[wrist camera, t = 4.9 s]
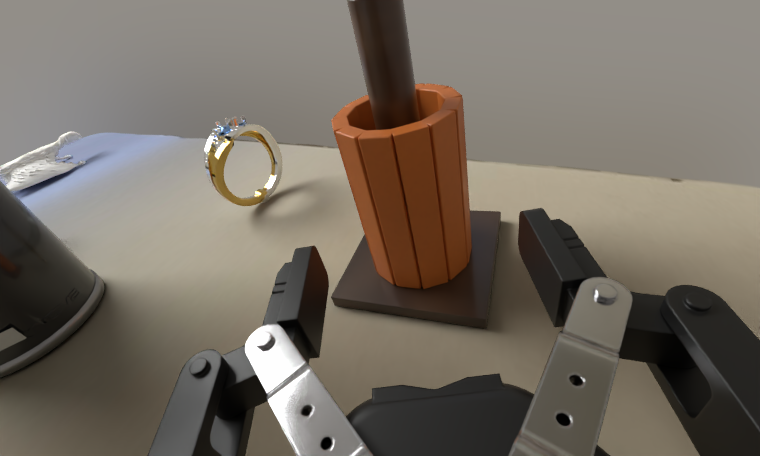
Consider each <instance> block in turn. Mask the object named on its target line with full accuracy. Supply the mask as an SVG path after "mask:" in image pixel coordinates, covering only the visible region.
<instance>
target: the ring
mask: <svg viewBox="0 0 760 456" xmlns="http://www.w3.org/2000/svg"><path fill="white" fill-rule="evenodd" d="M241 120H242V122H241V123H238V120H237V118H236V116H234V117H233V118H230V119H228V118H225V121H226V125H224V126H221V124H220V123H219V121H216V122H215V123H216V125H217V127H218V128H216V129H215V128H214V129H212V134H211V135H210V137H209V139H208V141H207V144H206V147H205V153H204V160H205V167H206V172H207V175H208V178H209V181H210V183H211V185H212V186H213V188H214V189H215V191H216V192H217V193H218V194H219V195H220V196H222V197H223V198H225V199H226V200H228V201H230V202H232V203H234V204H237V205H240V206H252V205H256V204H258V203H261V202H263V203H265V202H267V201H268V200H269V199H270V197H269V196H270V195H271V194H272V193H273V192H274V191H275V190H276V188H277V186H278V184H279V182H280V179H281V175H282V166H283V164H282V155H281V152H280V149H279V146H278V144H277V143H276V141H275V139H274V138H273V137H272V135H271V134H270V133H269V132H268V131H267V130H266V129H264V128H263V127H261V126H259V125H253V124H246V119H245V116H241ZM238 136H250V137H253V138H254V139H257V140H258V141H259V142H260V143H262V144H263V146H264V147H265V148H266V149H267V151H268V153H269V155H270V158H271V163H272V172H271V177H270V179H269V182H268V183H267V185H266V186H265V187H264V188H263V189H259V190H257V191H256V192H255V195H254V196H251V197H247V198H239V197H236V196H235V195H233V194H232V193H231V192H230V191H229V190H228V188H227V186H226V184H225V181H224V166H225V162H226V159H227V156H228V154H229V152H230V150H231V149H232V147H233V145H234V140H235V139H236V138H237V137H238ZM223 140H225V141H224V142H223V143H222V145H221V146H220V147H219V149H218V151H217V152H216V155H215V150H216V146H217V143H218V141H223Z"/></svg>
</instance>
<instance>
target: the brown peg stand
mask: <svg viewBox="0 0 760 456" xmlns="http://www.w3.org/2000/svg"><path fill="white" fill-rule="evenodd" d="M347 2H348V7H349V11H350V16H351V20H352V25H353V29H354V34H355V38H356V43H357V47H358V51H359V55H360V60H361V65H362V69H363V73H364V78H365V82H366V87H367V91H368V96H369V100H370V105H371V109H372V114H373V118H374V123H375V127H376V130H386V129H393V128H397V127H401V126H404V125H408V124H411V123H415V122H418V121H420V117H419V109H418V102H417V95H416V88H415V81H414V74H413V67H412V61H411V53H410V46H409V39H408V32H407V25H406V18H405V10H404V4H403V0H347ZM500 221H501V212H495V211H470V225H471V241H472V249H471V254H470V259H469V263H467V266H466V267H465V268H464V269H463V270H462V271H461V272H460V273H458V274H457V275H456V276H455V277H454V278H453V279H452V280H449V279H448V282H447V283H443V284H440V285H436V286H433V287H429V288H426V289H423V287H422V286H421V288H420V289H416V288H408V287H400V286H397V285H396V284H395V285H393V284H391V283H390V282H389V281H387V280H386V279H384V278H383V277H382V276H380V275H379V274H378V272H376V269H375V266H374V262H373V259H372V256H371V252H370V249H369V246H368V243H367V239H366V236H365V235H364V237H363V238H362V240H361V242H360V244H359V246H358V248H357V250H356V251H355V253H354V255H353V257H352V259H351V261H350V263H349V265H348V266H347V268H346V270H345V272H344V274H343V276H342V278H341V280H340V281H339V283H338V285H337V287H336V289H335V291H334V293H333V294H332V296H331V298H332V301H333V303H334V305H336V306H342V307H349V308H355V309H362V310H368V311H375V312H381V313H388V314H394V315H401V316H407V317H414V318H420V319H427V320H433V321H440V322H446V323H453V324H459V325H466V326H472V327H479V328H487V320H488V312H489V305H490V297H491V290H492V282H493V274H494V267H495V259H496V251H497V244H498V236H499V229H500Z"/></svg>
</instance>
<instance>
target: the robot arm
mask: <svg viewBox="0 0 760 456" xmlns="http://www.w3.org/2000/svg"><path fill="white" fill-rule="evenodd" d="M518 246H519V251H520V255H521V258H522V260H523V262H524V264H525V266H526V268H527V270H528V272H529V275H530V277H531V279H532V281H533V283H534V285H535V287H536V289H537V291H538V293H539V296H540V298H541V300H542V302H543V304H544V306H545V308H546V310H547V312H548V315H549V317H550V319H551V321H552V323H553V325H554V327H563V326H564V327H563V330H562V332H561V331H560V332H559V334H558V336H557V339H556V341H555V344H554V346H553V349H552V351H551V354H550V356H549V359H548V361H547V364H546V367H545V369H544V372H543V374H542V377H541V379H540V382H539V384H538V387H537V389H536V392H535V394H533V393H531V392H529V391H527V390H525V389H522V388H520V387H517V386H514V385H510V384H504V383H502V381H501V378H500V374H491V375H483V376H474V377H467V378H464V379H462V380H459V381H457V382H454V383H451V384H449V385H446V386H444V387H441V388H439V389H427V388H420V387H413V386H406V385H398V386H389V387H381V388H372V399H369V400H367V401H365V402H364V403H362V404H360V405H359V406H357V407H356V408H355V409H354V410H352V411H351V412H350V413H349V414H348V415H347V416H346V417H345V415H344V414H343V412H342V411H341V410H340V408H339V407H338V405H337V404H336V402H335V401H334V400H333V398H332V397H331V395H330V394H329V392H328V391H327V390H326V388H325V387H324V385H323V384H322V382H321V381H320V380H319V378H318V377H317V375H316V374H315V373H314V371H313V370H312V368H311V367H310V366H309V359H310V358H317V357H319V355H320V347H321V340H322V332H323V325H324V317H325V310H326V302H327V295H328V287H329V281H328V275H327V272H326V269H325V267H324V264H323V262H322V260H321V257H320V255H319V253H318V250H317V248H316V247H315V246H309V247H303V248H297V249H295V252H294V255H293V259H292V262H290V263H285V264H284V266H283V267H282V268H281V270H280V271H279V272H278V274H277V277H276V281H275V286H274V288H273V291H272V295H271V298H270V301H269V305H268V308H267V311H266V315H265V318H264V322H263V325H262V327H260V328H258V329H257V330H255V331H254V332H253V333H252V334H251V335H250V337H249V338H248V340H247V342H246V345H244V346H242V347H240V348H238V349H236V350H234V351H231V352H229V353H227V354H224V355H222V356H221V354H220V353H219V352H218V351H216V350H213V349H209V350H204V351H201V352H199V353H197V354H196V355H194V356H193V357H192V358H191V359H189V360H188V361H187V363H186V364H185V365H184V367H183V368H182V370H181V372H180V375H179V377H178V380H177V382H176V385H175V387H174V390H173V392H172V395H171V398H170V400H169V403H168V405H167V408H166V410H165V413H164V415H163V418H162V420H161V423H160V425H159V428H158V430H157V433H156V435H155V438H154V440H153V443H152V445H151V448H150V450H149V453H148V455H147V456H245V454H246V449H247V444H248V439H249V434H250V429H251V424H252V419H253V414H254V409H255V407H256V406H258V405H260V404H262V403H264V402H267V401H268V402H269V404H270V406H271V408H272V410H273V412H274V414H275V416H276V417H277V419H278V421H279V423H280V425H281V427H282V429H283V431H284V433H285V435H286V437H287V438H288V440H289V442H290V444H291V446H292V448H293V450H294V452H295V454H296V456H610V455H609V454H608V453H606V452H605V451H604V450H603V449H602V448H600V447H599V446H598V445H597V442H598V438H599V434H600V430H601V426H602V423H603V419H604V415H605V411H606V407H607V403H608V399H609V396H610V392H611V388H612V384H613V380H614V376H615V372H616V369H617V365H618V361H619V358H622V359H628V360H634V361H640V362H646V363H647V365H648V367H649V368H650V370H651V372H652V373H653V375H654V377H655V379H656V380H657V382H658V384H659V386H660V387H661V389H662V391H663V392H664V394H665V396H666V398H667V399H668V401H669V403H670V405H671V406H672V408H673V410H674V411H675V413H676V415H677V417H678V418H679V420H680V422H681V424H682V425H683V427H684V429H685V430H686V432H687V434H688V436H689V437H690V439H691V441H692V443H693V444H694V446H695V448H696V449H697V451H698V453H699V455H700V456H760V340H759V339H758V338H757V337H756V336H755V335H754V334H753V332H752V331H751V330H750V329H749V328H748V327H747V326H746V325H745V323H744V322H743V321H742V320H741V319H740V318H739V317H738V316H737V315H736V313H735V312H734V311H733V310H732V309H731V308H730V307H729V306H728V304H727V303H726V302H725V301H724V300H723V299H722V298H720V297H719V296H718V295H716V294H715V293H713V292H711V291H709V290H707V289H704V288H701V287H697V286H692V285H680V286H675V287H673V288H671V289H670V290H668V292H667V293H666V295H665V296H660V295H650V294H641V293H635V292H631V291H629V290H628V289H627V288H626V287H625V286H624V285H623V284H621V283H619V282H618V281H615V280H613V279H610V278H607V277H606V275H605V274H604V272H603V271H602V270H601V268H600V267H599V265H598V264H597V262H596V261H595V260H594V258H593V257H592V255H591V254H590V253H589V251H588V250H587V248H586V247H584V244H583V243H582V241H581V240H580V239H579V238H578V235H577V234H576V233H575V231H574V230H573V228H572V227H571V226H569V225H568V224H566V223H565V222H563V221H562V220H560V219H556V220H550V218H549V217H548V215H547V214H546V212H545V211H544V209H542V208H538V209H532V210H526V211H521V212H520V216H519V235H518ZM103 293H104V282H103V280H102V279H101V278H100V277H99V276H98V275H97V274H96V273H95V272H94V271H93V270H91V269H89V268H88V267H87V266H86V265H85V264H84V263H83V262H82V261H81V260H80V259H79V258H78V257H77V256H76V255H75V254H74V253H73V252H72V251H71V250H70V249H69V248H68V247H66V245H65V244H64V243H63V242H62V241H61V240H60V239H59V238H58V237H57V236H56V235H55V234H54V233H53V232H52V231H51V230H50V229H49V228H48V227H47V226H45V225H44V224H43V223H42V222H41V221H40V220H39V219H38V218H37V217H36V216H35V215H34V214H33V213H32V212H31V211H30V210H29V209H28V208H27V207H26V206H25V205H24V204H23V203H22V202H21V201H20V200H19V199H18V198H17V197H16V196H15V195H14V194H13V193H12V192H11V191H10V190H9V189H8V188H7V187H6V186H5V185H4V184H3V183H2V182H1V181H0V377H3V376H6V375H8V374H11V373H13V372H15V371H17V370H19V369H21V368H23V367H25V366H27V365H29V364H31V363H32V362H34V361H36V360H37V359H39V358H41V357H42V356H44V355H45V354H47V353H48V352H50V351H51V350H53V349H54V348H55V347H57V346H58V345H59V344H61V343H62V342H63V341H64V340H66V339H67V338H68V337H69V336H70V335H71V334H73V333H74V332H75V331H76V330H77V329H78V328H79V327H80V326H81V325H82V324H83V323H84V322H85V321H86V320H87V319H88V317H89V316H90V315H91V314H92V312H93V311H94V310H95V308H96V307H97V305H98V304H99V302H100V300H101V298H102V296H103Z"/></svg>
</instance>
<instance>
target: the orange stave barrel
mask: <svg viewBox="0 0 760 456" xmlns="http://www.w3.org/2000/svg"><path fill="white" fill-rule="evenodd" d="M415 88H416V95H417V102H418V109H419V117H420V121H418V122H415V123H411V124H408V125H404V126H401V127H397V128H393V129H386V130H376V127H375V123H374V118H373V114H372V109H371V105H370V100H369V96H368V95H365V96H363V97H361V98H359V99H357V100H355V101H353V102H351V103H349V104H347V105H346V107H343V108H342V109H341V110H340V111H339V112H338V113H337V114H336V115H335V116H334V117H333V119H332V126H333V130H334V134H335V137H336V141H337V144H338V147H339V150H340V154H341V157H342V160H343V164H344V167H345V170H346V173H347V177H348V180H349V183H350V187H351V190H352V193H353V196H354V200H355V203H356V206H357V210H358V213H359V216H360V219H361V223H362V226H363V229H364V233H365V236H366V239H367V243H368V246H369V249H370V252H371V256H372V259H373V262H374V266H375V269H376V272H378V274H379V275H380V276H382V277H383V278H384V279H386V280H387V281H389V282H390V283H391V284H393V285H395V284H396V285H397V286H400V287H408V288H416V289H420V288H421V286H422V287H423V289H426V288H429V287H433V286H436V285H440V284H443V283H447V282H448V279H449V280H452V279H453V278H454V277H455V276H456V275H457V274H458V273H460V272H461V271H462V270H463V269H464V268H465V267H466V266H467V263H469V259H470V254H471V249H472V241H471V225H470V209H469V193H468V176H467V160H466V146H465V145H466V144H465V129H464V112H463V99H462V95H461V94H460V93H458V92H457V91H456V90H455V89H453V88H452V87H449V86H443V85H435V84H426V85H425V84H415Z"/></svg>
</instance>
